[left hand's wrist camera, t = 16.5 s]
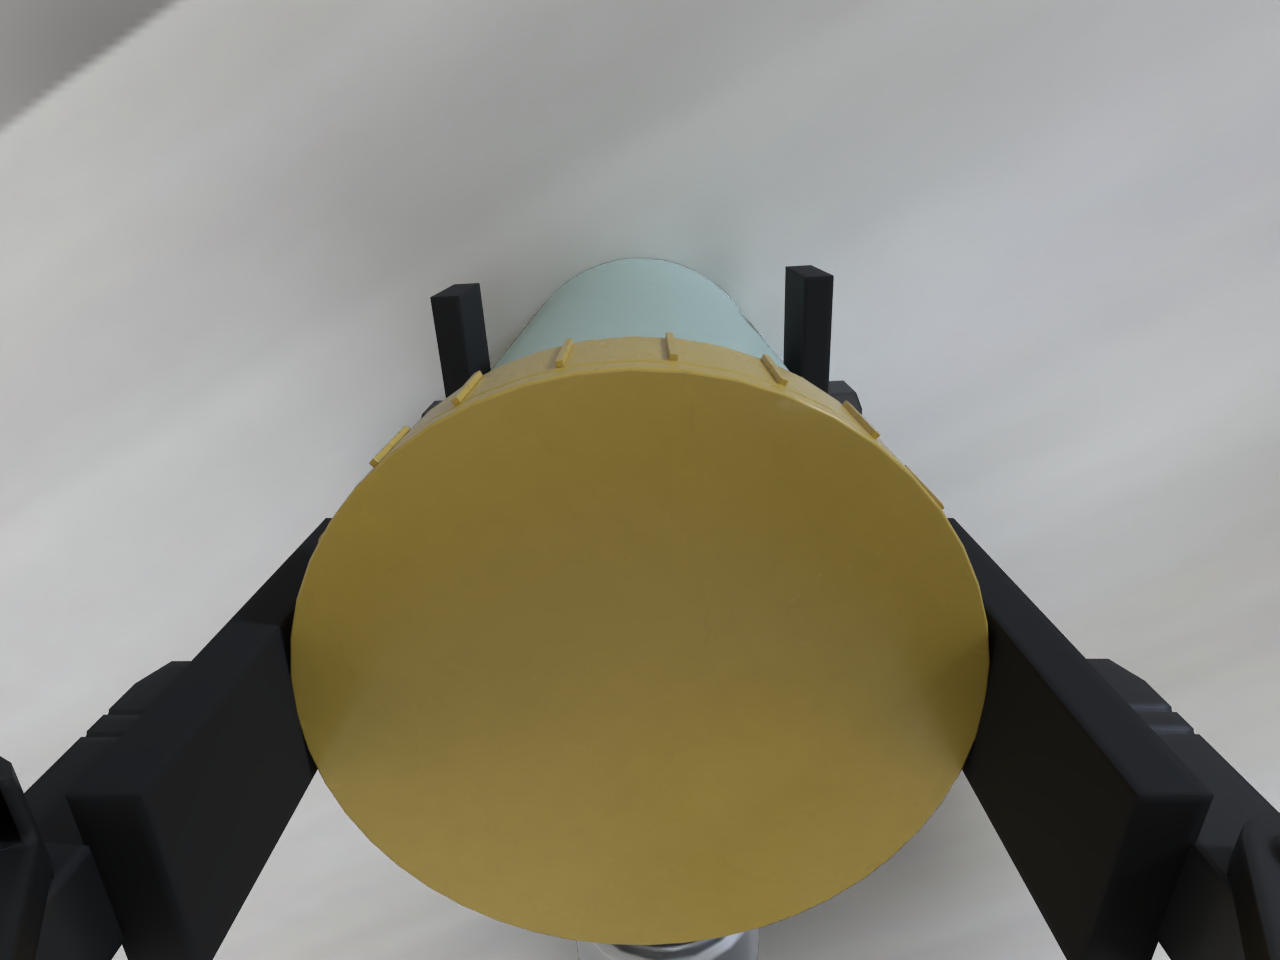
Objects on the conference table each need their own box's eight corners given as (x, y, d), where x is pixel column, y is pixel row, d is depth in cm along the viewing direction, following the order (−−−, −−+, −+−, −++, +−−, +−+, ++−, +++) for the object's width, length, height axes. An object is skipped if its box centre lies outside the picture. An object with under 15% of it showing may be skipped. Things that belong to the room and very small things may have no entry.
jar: (693, 527, 30) (760, 955, 13) (484, 437, 29) (267, 792, 12) (804, 324, 27) (1073, 551, 10) (576, 212, 26) (457, 265, 9)
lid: (1059, 468, 11) (1142, 525, 9) (779, 902, 15) (800, 1007, 13) (430, 220, 10) (383, 229, 8) (287, 763, 13) (230, 856, 12)
